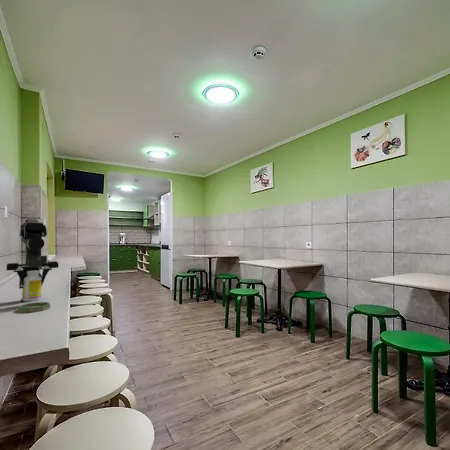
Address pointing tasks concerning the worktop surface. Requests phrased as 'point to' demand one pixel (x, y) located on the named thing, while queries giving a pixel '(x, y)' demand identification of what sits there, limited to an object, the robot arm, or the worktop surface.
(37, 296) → the supplement bottle
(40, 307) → the coaster ring
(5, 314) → the worktop surface
